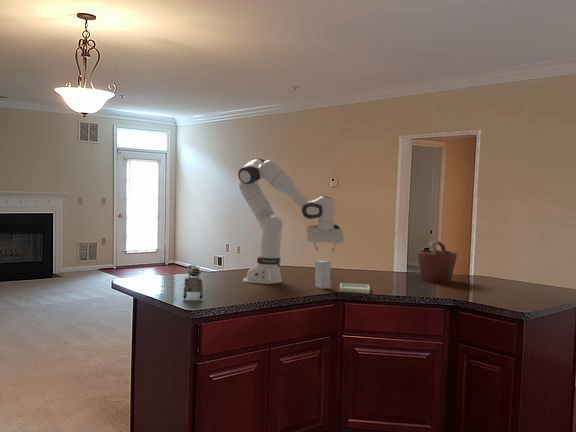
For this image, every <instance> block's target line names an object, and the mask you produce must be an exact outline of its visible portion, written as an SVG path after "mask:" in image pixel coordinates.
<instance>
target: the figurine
mask: <svg viewBox="0 0 576 432" xmlns="http://www.w3.org/2000/svg"><path fill="white" fill-rule="evenodd" d="M186 271H187V273H188V277H185V278H184V287H183V295H182V298H183V299H187V295H188V294H187V293H199V299H203V297H204V294H203V288H204V287H203V286H204V285H203V280H202V278H200V275H201V273H202V271H201V269H200V266H197V265H194V264H190V265H188V267H187V268H186Z"/></svg>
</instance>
